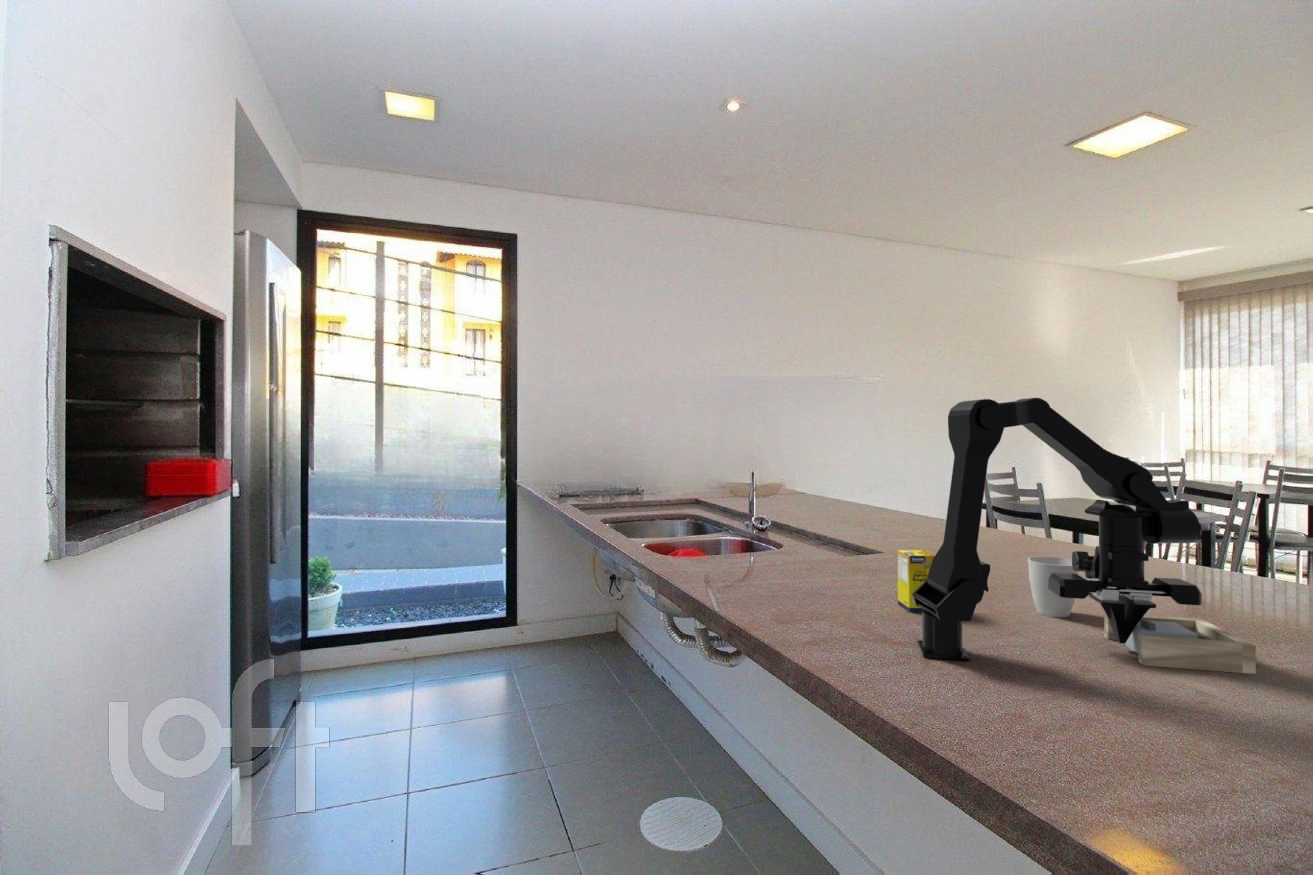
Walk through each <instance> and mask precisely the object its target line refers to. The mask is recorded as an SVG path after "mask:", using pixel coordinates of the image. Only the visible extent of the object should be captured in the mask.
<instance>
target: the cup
mask: <svg viewBox="0 0 1313 875" xmlns="http://www.w3.org/2000/svg"><path fill="white" fill-rule="evenodd" d="M1027 562H1028V578H1029V580H1028V581H1029V585H1030V591H1031V595H1032V599H1033V602H1034V605H1035V609H1036V612H1037V613H1038V614H1041V615H1043V616H1047V617H1053V618H1068V617H1070V614H1071V612H1072V609H1073V607H1074V605H1075V600H1076V598H1064V597H1060V596H1058V595H1057V594H1055V593H1054V592H1053V591H1051V590H1050V589H1048V579H1049V577H1050V575H1051V574H1052V573H1068V574H1077V575H1079V574H1080V573H1079V572H1080V571H1074V570H1073V567H1072V559H1070V558H1064V557H1059V556H1058V557H1057V556H1042V555H1039V556H1029V557H1028V558H1027Z"/></svg>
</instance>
